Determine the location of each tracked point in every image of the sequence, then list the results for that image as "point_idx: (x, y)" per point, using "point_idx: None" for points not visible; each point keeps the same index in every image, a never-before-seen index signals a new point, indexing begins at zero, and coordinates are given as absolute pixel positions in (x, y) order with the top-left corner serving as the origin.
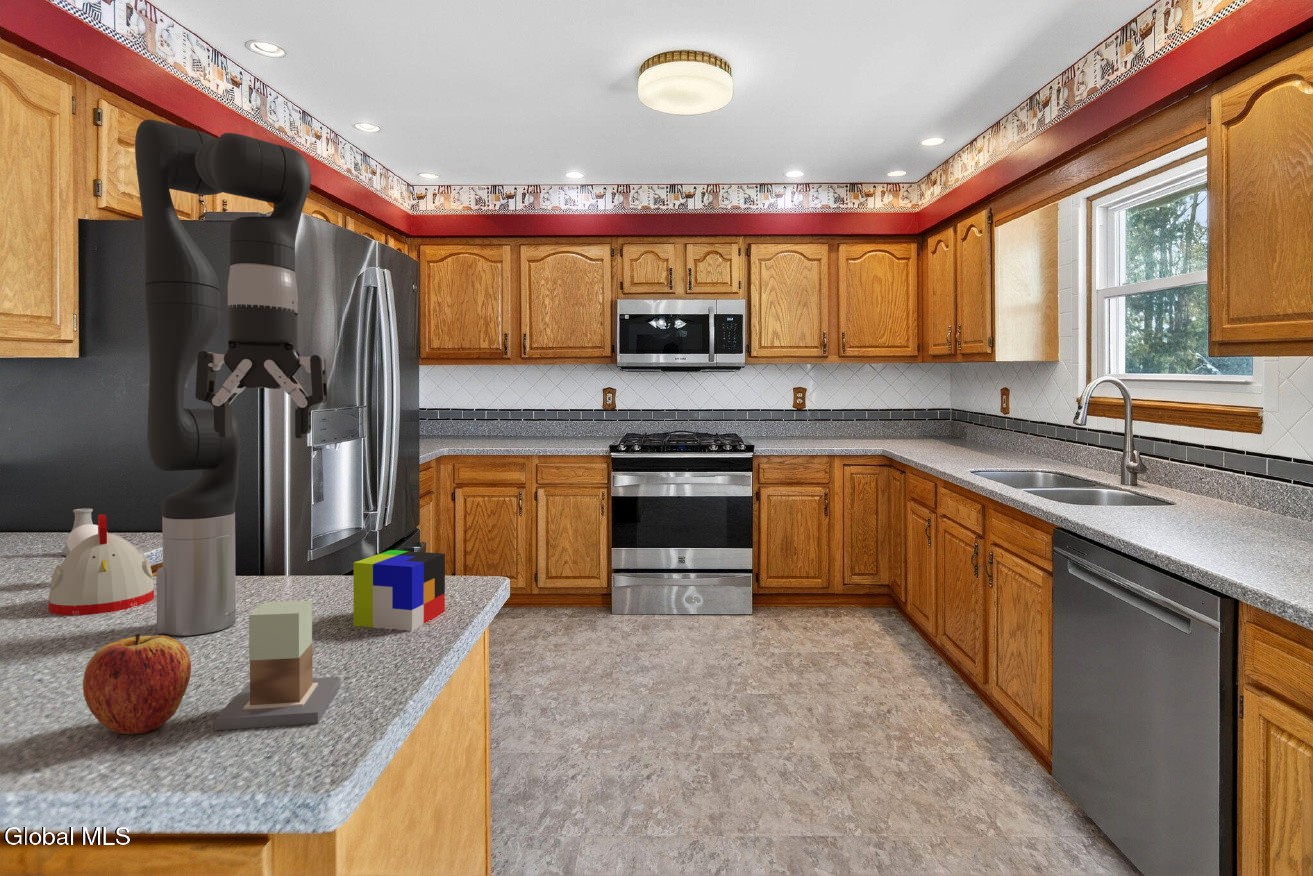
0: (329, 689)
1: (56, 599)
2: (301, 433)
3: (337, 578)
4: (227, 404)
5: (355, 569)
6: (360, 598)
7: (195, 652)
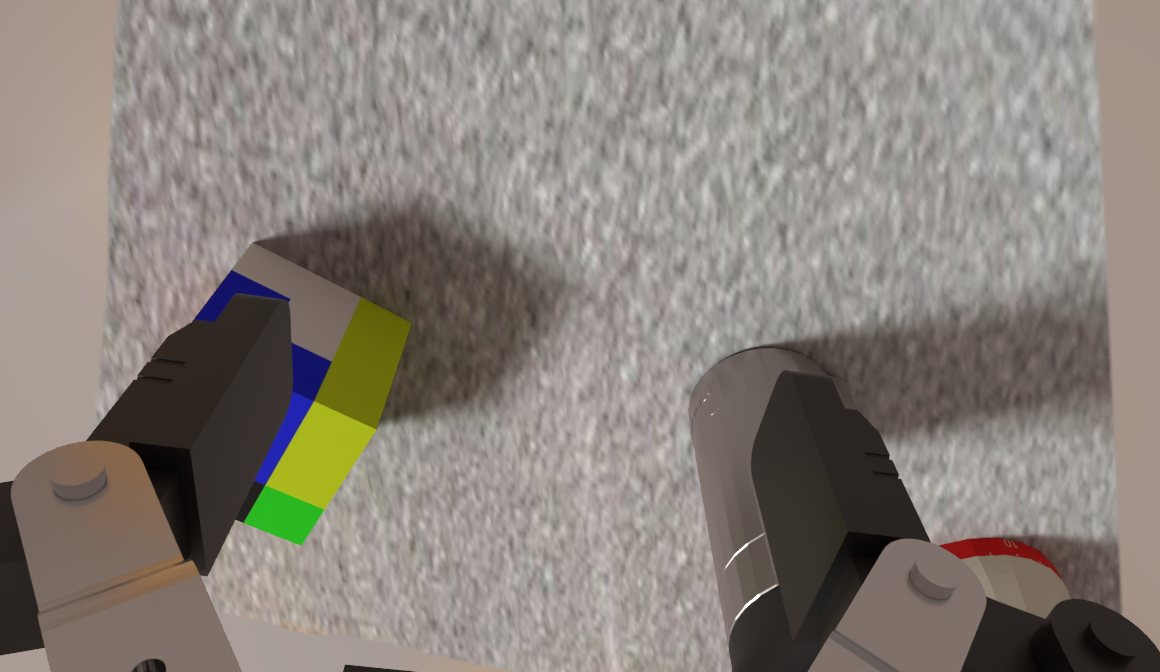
0: None
1: (1058, 580)
2: (228, 308)
3: (509, 654)
4: (834, 619)
5: (375, 413)
6: (378, 355)
7: (749, 234)
